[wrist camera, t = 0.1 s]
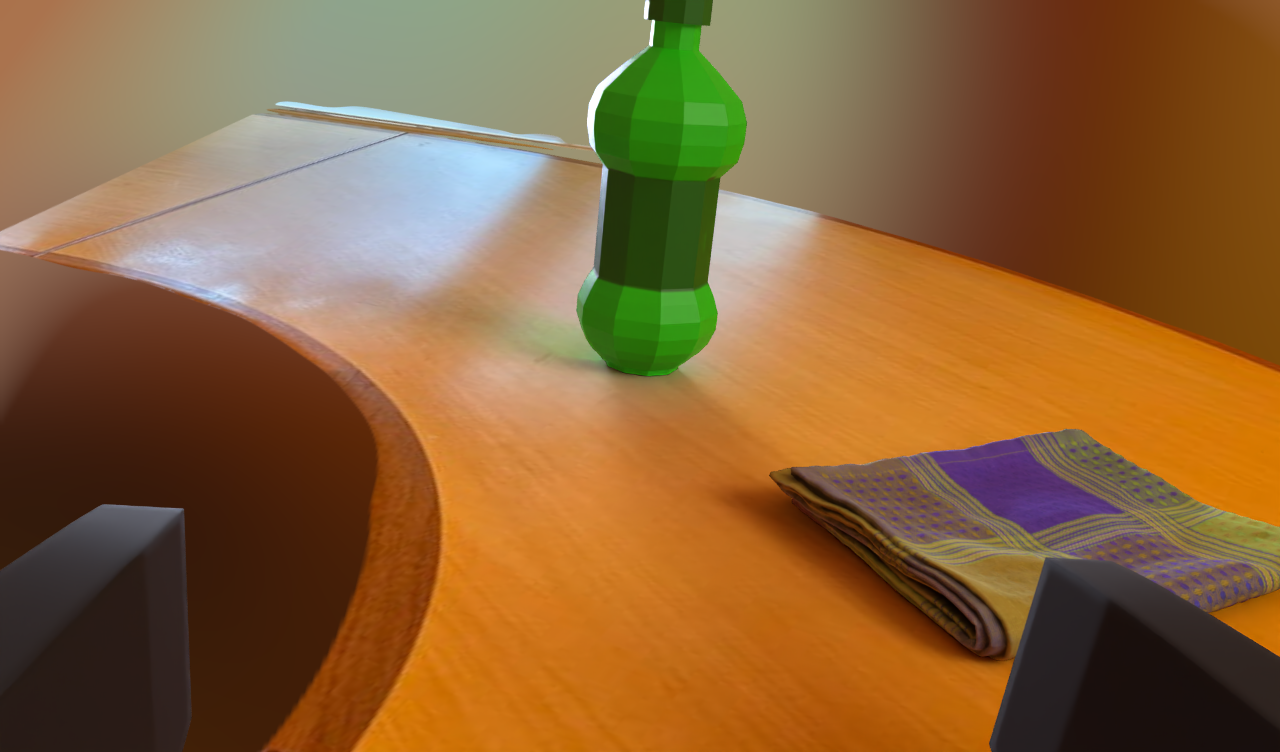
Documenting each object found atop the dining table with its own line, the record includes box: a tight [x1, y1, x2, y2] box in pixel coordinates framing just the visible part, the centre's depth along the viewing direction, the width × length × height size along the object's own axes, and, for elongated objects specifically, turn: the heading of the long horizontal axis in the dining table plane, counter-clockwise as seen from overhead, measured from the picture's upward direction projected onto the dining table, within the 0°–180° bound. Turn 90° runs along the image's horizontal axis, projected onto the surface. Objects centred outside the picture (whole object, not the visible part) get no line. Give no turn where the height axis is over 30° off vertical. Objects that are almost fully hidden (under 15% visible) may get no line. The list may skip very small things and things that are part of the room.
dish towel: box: [769, 429, 1280, 661], centre depth 60 cm, size 18×24×3 cm
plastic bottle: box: [576, 0, 747, 376], centre depth 78 cm, size 10×10×25 cm
